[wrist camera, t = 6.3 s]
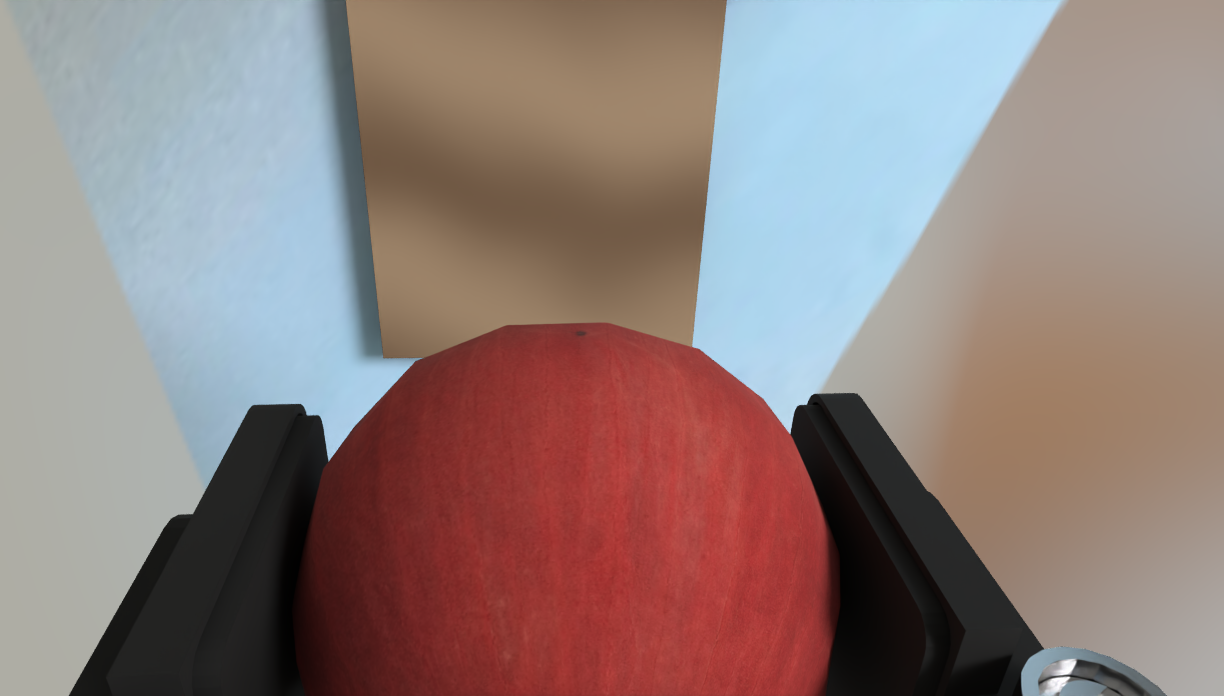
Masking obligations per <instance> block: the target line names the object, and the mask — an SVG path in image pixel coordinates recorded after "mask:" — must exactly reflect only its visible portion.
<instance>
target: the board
mask: <svg viewBox="0 0 1224 696" xmlns="http://www.w3.org/2000/svg"><path fill="white" fill-rule="evenodd" d="M726 2H727V0H346V7H347V17H348V26H349V36H350V45H351V54H352V64H353V73H354V83H355V92H356V102H357V111H358V121H359V130H360V140H361V149H362V159H363V168H364V178H365V187H366V197H367V206H368V216H369V225H370V235H371V244H372V254H373V263H374V273H375V282H376V292H377V301H378V311H379V320H380V330H381V339H382V348H383V358H425V357H428V356H430V355H433V354H435V353H438V352H440V351H443V350H445V349H448V348H450V347H453V346H455V345H458V344H460V343H463V342H465V341H468V340H470V339H473V338H476V337H478V336H481V335H483V334H486V333H488V332H491V331H493V330H496V329H498V328H501V327H503V326H506V325H528V324H562V323H597V322H605V323H611V324H614V325H618V326H621V327H625V328H628V329H632V330H635V331H638V332H642V333H645V334H649V335H652V336H656V337H659V338H662V339H666V340H669V341H673V342H676V343H680V344H683V345H686V346H690V347H692V341H693V331H694V321H695V311H696V301H697V291H698V281H699V271H700V261H701V251H702V241H703V231H704V221H705V211H706V201H707V191H708V181H709V171H710V161H711V152H712V142H713V132H714V122H715V112H716V102H717V92H718V82H719V72H720V62H721V52H722V42H723V32H724V22H725V12H726Z"/></svg>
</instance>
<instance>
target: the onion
mask: <svg viewBox="0 0 1224 696" xmlns="http://www.w3.org/2000/svg"><path fill="white" fill-rule="evenodd" d="M839 611H840V554H839V551H838V548H837V545H836V542H835V540H834V537H833V534H832V531H831V528H830V525H829V523H828V520H827V517H826V514H825V511H824V508H823V505H822V503H821V501H820V499H819V496H818V494H817V492H816V490H815V488H814V485H813V483H812V481H811V479H810V476H809V474H808V472H807V470H806V467H805V465H804V463H803V461H802V459H801V456H800V454H799V452H798V450H797V447H796V445H795V443H794V441H793V438H792V436H791V435H790V434H789V433H788V431H787V430H786V429H785V427H784V426H783V425H782V423H781V422H780V421H779V419H778V418H777V417H776V415H775V414H774V413H773V411H772V410H771V409H770V407H769V406H768V405H767V403H766V402H765V401H764V399H762V398H761V397H760V396H759V395H757V394H756V393H755V392H753V391H752V390H751V389H750V388H748V387H747V386H746V385H744V384H743V383H742V382H741V381H739V380H738V379H737V378H735V377H734V376H733V375H732V374H730V373H729V372H728V371H726V370H725V369H724V368H723V367H721V366H720V365H719V364H718V363H716V362H715V361H714V360H712V359H711V358H710V357H709V356H707V355H706V354H705V353H703V352H702V351H701V350H700V349H697V348H693V347H690V346H686V345H683V344H680V343H676V342H673V341H669V340H666V339H662V338H659V337H656V336H652V335H649V334H645V333H642V332H638V331H635V330H632V329H628V328H625V327H621V326H618V325H614V324H611V323H605V322H597V323H562V324H528V325H506V326H503V327H501V328H498V329H496V330H493V331H491V332H488V333H486V334H483V335H481V336H478V337H476V338H473V339H470V340H468V341H465V342H463V343H460V344H458V345H455V346H453V347H450V348H448V349H445V350H443V351H440V352H438V353H435V354H433V355H430V356H428V357H425V358H423V359H420V360H418V361H415V362H414V364H413V365H412V366H411V367H410V368H409V369H408V370H407V371H406V372H405V373H404V374H403V375H402V376H401V377H400V379H399V380H398V381H397V382H396V383H395V384H394V385H393V386H392V387H391V388H390V389H389V390H388V391H387V392H386V394H385V395H384V396H383V397H382V398H381V399H380V400H379V401H378V402H377V403H376V404H375V405H374V406H373V407H372V409H371V410H370V411H369V412H368V413H367V414H366V415H365V416H364V417H363V418H362V419H361V420H360V421H359V422H358V424H357V425H356V426H355V427H354V428H353V429H352V431H351V432H350V434H349V435H348V436H347V438H346V439H345V440H344V442H343V443H342V444H341V446H340V447H339V448H338V450H337V451H336V453H335V454H334V455H333V457H332V458H331V459H330V461H329V462H328V463H327V465H326V466H325V468H324V469H323V472H322V476H321V480H320V484H319V487H318V491H317V495H316V499H315V503H314V506H313V510H312V514H311V518H310V522H309V525H308V529H307V533H306V537H305V541H304V545H303V550H302V556H301V561H300V566H299V571H298V576H297V582H296V587H295V593H294V599H293V604H292V617H293V629H294V640H295V651H296V662H297V666H298V670H299V674H300V678H301V681H302V685H303V689H304V693H305V696H826V690H827V683H828V676H829V669H830V663H831V657H832V652H833V646H834V640H835V634H836V628H837V622H838V616H839Z"/></svg>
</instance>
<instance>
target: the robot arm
mask: <svg viewBox="0 0 1224 696" xmlns="http://www.w3.org/2000/svg"><path fill="white" fill-rule="evenodd" d="M790 435H791V436H792V438H793V441H794V443H795V445H796V447H797V450H798V452H799V454H800V456H801V459H802V461H803V463H804V465H805V467H806V470H807V472H808V474H809V476H810V479H811V481H812V483H813V485H814V488H815V490H816V492H817V494H818V496H819V499H820V501H821V503H822V505H823V508H824V511H825V514H826V517H827V520H828V523H829V525H830V528H831V531H832V534H833V537H834V540H835V542H836V545H837V548H838V551H839V554H840V611H839V616H838V622H837V628H836V634H835V640H834V646H833V652H832V657H831V663H830V669H829V676H828V683H827V690H826V696H1167V695H1166V694H1165V693H1164V692H1163V691H1162V690H1161V689H1160V688H1159V687H1158V686H1157V685H1155V684H1154V683H1153V682H1151V681H1150V680H1149V679H1147V678H1146V677H1145V676H1143V675H1142V674H1140V673H1139V672H1138V671H1136V670H1135V669H1133V668H1131V667H1129V666H1127V665H1125V664H1123V663H1121V662H1119V661H1117V660H1115V659H1113V658H1111V657H1109V656H1106V655H1103V654H1099V653H1096V652H1093V651H1090V650H1086V649H1080V648H1070V647H1056V648H1050V649H1044V648H1043V647H1042V646H1041V644H1040V643H1039V641H1038V640H1037V639H1036V637H1035V636H1034V634H1033V633H1032V631H1031V630H1030V629H1029V627H1028V626H1027V624H1026V623H1025V622H1024V621H1023V619H1022V617H1021V616H1020V615H1019V613H1018V612H1017V610H1016V609H1015V608H1014V606H1013V605H1012V603H1011V602H1010V601H1009V599H1008V598H1007V596H1006V595H1005V594H1004V592H1003V591H1002V589H1001V588H1000V587H999V585H998V584H997V582H996V581H995V579H994V578H993V577H992V575H991V574H990V572H989V571H988V570H987V568H986V567H985V565H984V564H983V563H982V561H981V560H980V558H979V557H978V556H977V554H976V553H975V551H974V550H973V549H972V547H971V546H970V544H969V543H968V542H967V540H966V539H965V537H964V536H963V535H962V533H961V532H960V530H959V529H958V528H957V526H956V525H955V523H954V522H953V521H952V520H951V518H950V516H949V515H948V513H947V512H946V511H945V509H944V508H943V507H942V505H941V504H940V502H939V501H938V500H937V499H936V498H935V497H934V496H933V495H932V494H931V493H930V492H928V491H927V490H926V489H925V487H924V486H923V485H922V483H921V482H920V480H919V479H918V477H917V476H916V475H915V473H914V472H913V470H912V469H911V468H910V466H909V465H908V463H907V462H906V461H905V459H904V458H903V456H902V455H901V453H900V452H899V451H898V449H897V448H896V446H895V445H894V443H893V442H892V441H891V439H890V438H889V436H888V435H887V433H886V432H885V431H884V429H883V428H882V426H881V425H880V424H879V422H878V421H877V419H876V418H875V416H874V415H873V414H872V412H871V411H870V409H869V408H868V407H867V405H866V404H865V402H864V401H863V399H862V398H861V397H860V396H859V395H858V394H855V393H834V394H813V395H812V396H811V397H810V399H809V401H808V404H807V405H799V406H797V408H796V410H795V413H794V417H793V422H792V428H791V434H790ZM327 463H328V456H327V449H326V443H325V436H324V429H323V424H322V420H321V418H320V416H318V415H310V416H307V415H306V411H305V409H304V406H302V405H301V404H276V405H253V406H251V408H250V409H249V410H248V412H247V414H246V416H245V418H244V420H243V421H242V423H241V425H240V427H239V429H238V431H237V433H236V435H235V436H234V438H233V440H232V442H231V444H230V446H229V448H228V450H227V451H226V453H225V455H224V457H223V459H222V461H221V463H220V465H219V466H218V468H217V470H216V472H215V474H214V476H213V478H212V480H211V481H210V483H209V485H208V487H207V489H206V491H205V493H204V495H203V497H202V498H201V500H200V502H199V504H198V506H197V508H196V510H195V512H194V513H193V514H187V515H177V516H175V517H173V518H172V519H171V520H170V521H169V522H168V523H167V525H166V526H165V527H164V529H163V531H162V532H161V534H160V536H159V538H158V539H157V541H156V543H155V545H154V547H153V548H152V550H151V552H150V554H149V555H148V557H147V559H146V561H145V562H144V564H143V566H142V568H141V569H140V571H139V573H138V575H137V576H136V578H135V580H134V582H133V583H132V585H131V587H130V589H129V591H128V592H127V594H126V596H125V598H124V599H123V601H122V603H121V605H120V606H119V608H118V610H117V612H116V613H115V615H114V617H113V619H112V620H111V622H110V624H109V626H108V627H107V629H106V631H105V633H104V635H103V636H102V638H101V640H100V642H99V643H98V645H97V647H96V649H95V650H94V652H93V654H92V656H91V658H90V659H89V661H88V663H87V664H86V666H85V668H84V670H83V672H82V673H81V675H80V677H79V679H78V680H77V682H76V684H75V686H74V687H73V689H72V691H71V693H70V695H69V696H305V693H304V689H303V685H302V681H301V678H300V674H299V670H298V666H297V662H296V651H295V640H294V629H293V617H292V604H293V599H294V593H295V587H296V582H297V576H298V571H299V566H300V561H301V556H302V550H303V545H304V541H305V537H306V533H307V529H308V525H309V522H310V518H311V514H312V510H313V506H314V503H315V499H316V495H317V491H318V487H319V484H320V480H321V476H322V472H323V469H324V468H325V466H326V465H327Z"/></svg>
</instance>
